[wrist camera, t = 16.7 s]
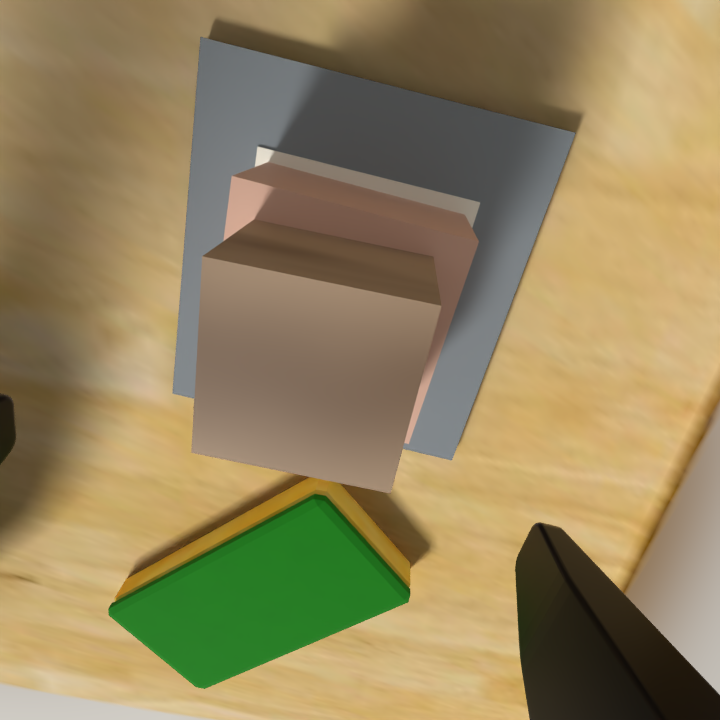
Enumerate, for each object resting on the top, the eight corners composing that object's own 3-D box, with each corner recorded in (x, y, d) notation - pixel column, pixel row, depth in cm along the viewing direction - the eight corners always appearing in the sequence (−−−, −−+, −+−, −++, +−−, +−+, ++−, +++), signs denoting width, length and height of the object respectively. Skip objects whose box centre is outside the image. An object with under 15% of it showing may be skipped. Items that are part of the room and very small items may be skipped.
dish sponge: (413, 560, 26) (414, 601, 24) (214, 651, 31) (199, 693, 28) (327, 461, 24) (319, 497, 22) (126, 574, 28) (102, 613, 26)
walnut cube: (394, 409, 17) (390, 493, 13) (238, 378, 17) (191, 452, 13) (433, 256, 14) (441, 305, 11) (254, 219, 14) (201, 256, 11)
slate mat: (450, 452, 23) (451, 461, 22) (178, 386, 22) (171, 394, 22) (570, 132, 17) (576, 132, 16) (207, 39, 17) (199, 36, 16)
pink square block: (408, 385, 21) (408, 443, 17) (240, 342, 20) (204, 392, 17) (464, 214, 18) (479, 241, 14) (268, 161, 17) (231, 175, 14)
